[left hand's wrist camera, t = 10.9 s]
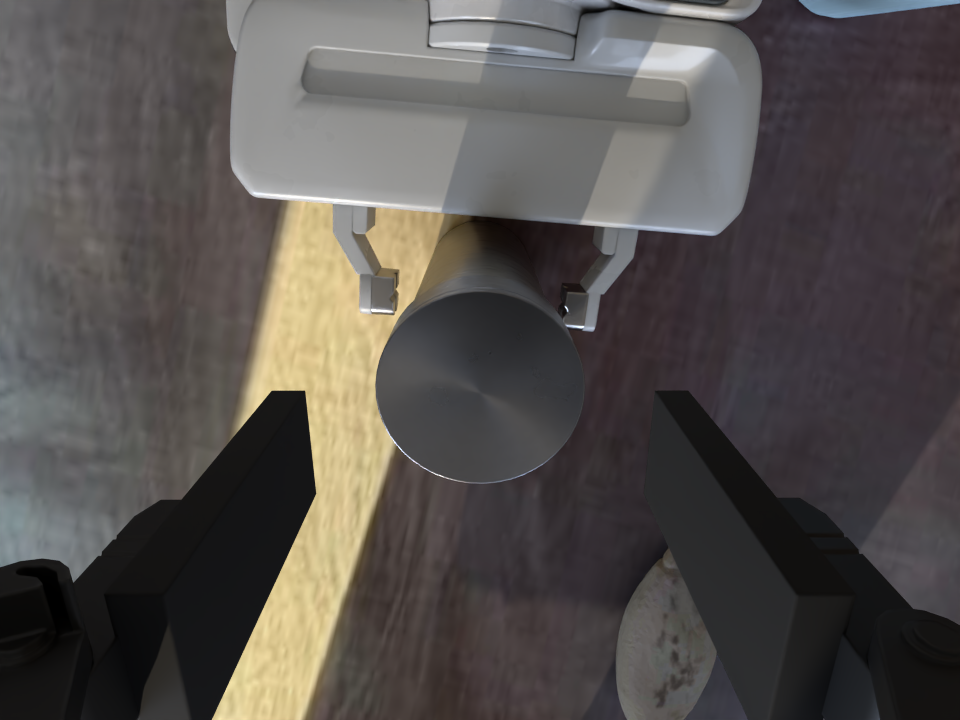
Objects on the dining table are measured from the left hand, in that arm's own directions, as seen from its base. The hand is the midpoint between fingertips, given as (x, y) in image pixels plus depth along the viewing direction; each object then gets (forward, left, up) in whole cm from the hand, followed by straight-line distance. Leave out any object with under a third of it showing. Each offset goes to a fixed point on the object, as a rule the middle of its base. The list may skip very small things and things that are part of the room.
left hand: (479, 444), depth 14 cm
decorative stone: (-27, -2, -20) cm, 33 cm away
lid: (0, 0, -3) cm, 3 cm away
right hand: (-1, 0, -13) cm, 13 cm away
